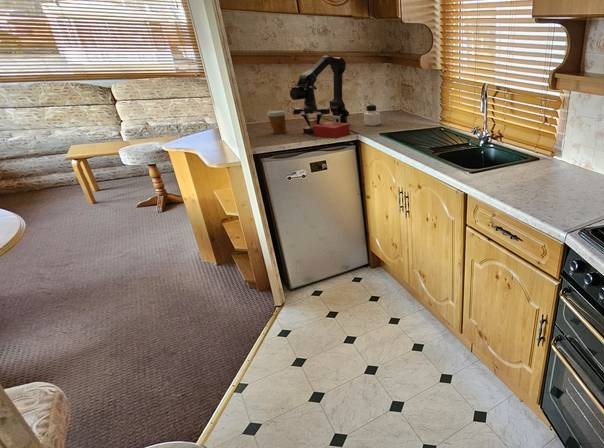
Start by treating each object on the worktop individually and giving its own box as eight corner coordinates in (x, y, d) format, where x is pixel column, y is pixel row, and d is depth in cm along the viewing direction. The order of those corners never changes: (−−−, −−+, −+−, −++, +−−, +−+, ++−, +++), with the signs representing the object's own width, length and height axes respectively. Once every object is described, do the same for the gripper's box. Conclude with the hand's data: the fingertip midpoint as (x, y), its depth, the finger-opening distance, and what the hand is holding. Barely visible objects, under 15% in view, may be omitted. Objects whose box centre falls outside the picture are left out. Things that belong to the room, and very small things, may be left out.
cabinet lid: (328, 122, 235) (327, 114, 232) (349, 124, 230) (348, 116, 228) (312, 127, 223) (311, 118, 221) (334, 129, 219) (333, 120, 217)
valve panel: (314, 130, 239) (314, 124, 237) (326, 131, 236) (326, 125, 235) (302, 133, 230) (301, 127, 229) (314, 134, 228) (314, 129, 226)
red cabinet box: (329, 131, 236) (327, 123, 234) (350, 133, 231) (348, 125, 229) (314, 135, 225) (312, 127, 223) (335, 138, 221) (334, 129, 219)
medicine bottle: (380, 124, 257) (379, 104, 252) (372, 126, 251) (370, 106, 246) (372, 122, 260) (371, 103, 255) (364, 124, 255) (362, 105, 250)
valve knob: (309, 127, 230) (308, 120, 228) (310, 126, 233) (309, 118, 232) (317, 127, 230) (316, 120, 228) (318, 126, 234) (317, 118, 232)
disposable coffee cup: (292, 131, 235) (288, 110, 230) (283, 134, 226) (279, 113, 221) (276, 130, 235) (272, 109, 230) (267, 134, 227) (262, 112, 222)
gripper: (288, 100, 217) (293, 129, 223) (324, 100, 219) (328, 129, 226) (293, 97, 227) (298, 125, 233) (328, 97, 229) (331, 125, 236)
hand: (313, 126), depth 232 cm, fingers closed on valve knob, 4 cm apart
